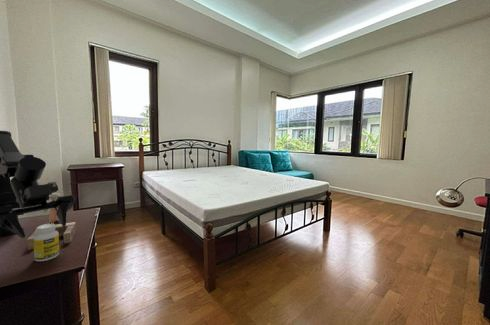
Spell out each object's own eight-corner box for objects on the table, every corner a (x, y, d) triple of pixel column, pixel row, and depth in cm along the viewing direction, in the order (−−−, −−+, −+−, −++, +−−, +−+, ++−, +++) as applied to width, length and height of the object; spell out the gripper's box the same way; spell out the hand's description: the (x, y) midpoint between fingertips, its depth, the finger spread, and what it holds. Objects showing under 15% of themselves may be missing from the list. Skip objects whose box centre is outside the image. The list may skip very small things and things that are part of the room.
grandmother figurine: (50, 224, 84) (49, 195, 83) (42, 224, 84) (41, 194, 83) (69, 218, 92) (67, 191, 90) (61, 217, 92) (60, 190, 91)
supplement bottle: (43, 263, 58) (42, 230, 57) (29, 260, 59) (27, 228, 58) (64, 253, 63) (62, 223, 62) (50, 251, 64) (49, 221, 63)
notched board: (38, 236, 73) (38, 227, 73) (76, 231, 79) (75, 222, 79) (27, 249, 64) (27, 238, 64) (70, 242, 70) (70, 232, 70)
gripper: (-14, 178, 53) (4, 227, 49) (71, 171, 70) (90, 207, 66) (-22, 203, 57) (-5, 250, 53) (61, 191, 74) (78, 226, 70)
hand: (45, 231), depth 60 cm, fingers open, 9 cm apart
